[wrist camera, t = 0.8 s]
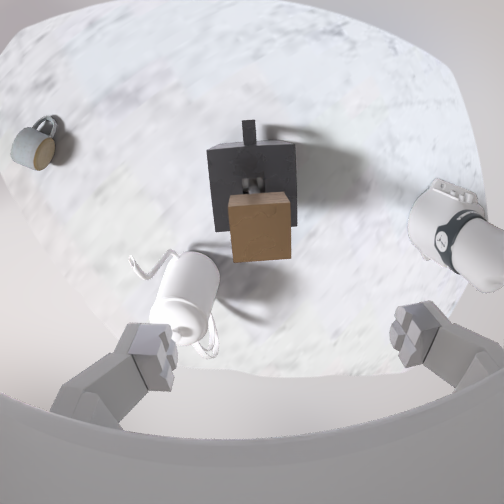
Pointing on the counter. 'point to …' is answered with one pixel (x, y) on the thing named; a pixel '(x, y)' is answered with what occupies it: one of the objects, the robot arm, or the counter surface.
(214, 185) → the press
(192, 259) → the coffeepot
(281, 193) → the plunger
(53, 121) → the ceramic mug
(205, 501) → the robot arm
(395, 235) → the counter surface
